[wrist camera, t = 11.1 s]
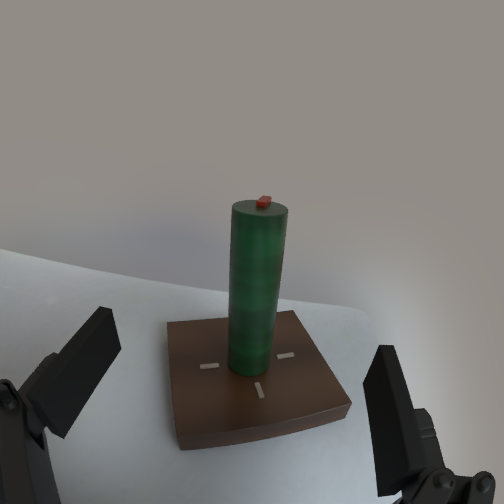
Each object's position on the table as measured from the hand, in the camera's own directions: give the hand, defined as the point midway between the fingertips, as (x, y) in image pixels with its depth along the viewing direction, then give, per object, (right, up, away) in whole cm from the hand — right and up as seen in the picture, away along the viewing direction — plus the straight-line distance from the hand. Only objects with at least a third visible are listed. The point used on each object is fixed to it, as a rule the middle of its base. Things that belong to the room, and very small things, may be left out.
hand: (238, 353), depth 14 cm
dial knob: (0, -4, +8) cm, 9 cm away
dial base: (0, -6, +9) cm, 11 cm away
